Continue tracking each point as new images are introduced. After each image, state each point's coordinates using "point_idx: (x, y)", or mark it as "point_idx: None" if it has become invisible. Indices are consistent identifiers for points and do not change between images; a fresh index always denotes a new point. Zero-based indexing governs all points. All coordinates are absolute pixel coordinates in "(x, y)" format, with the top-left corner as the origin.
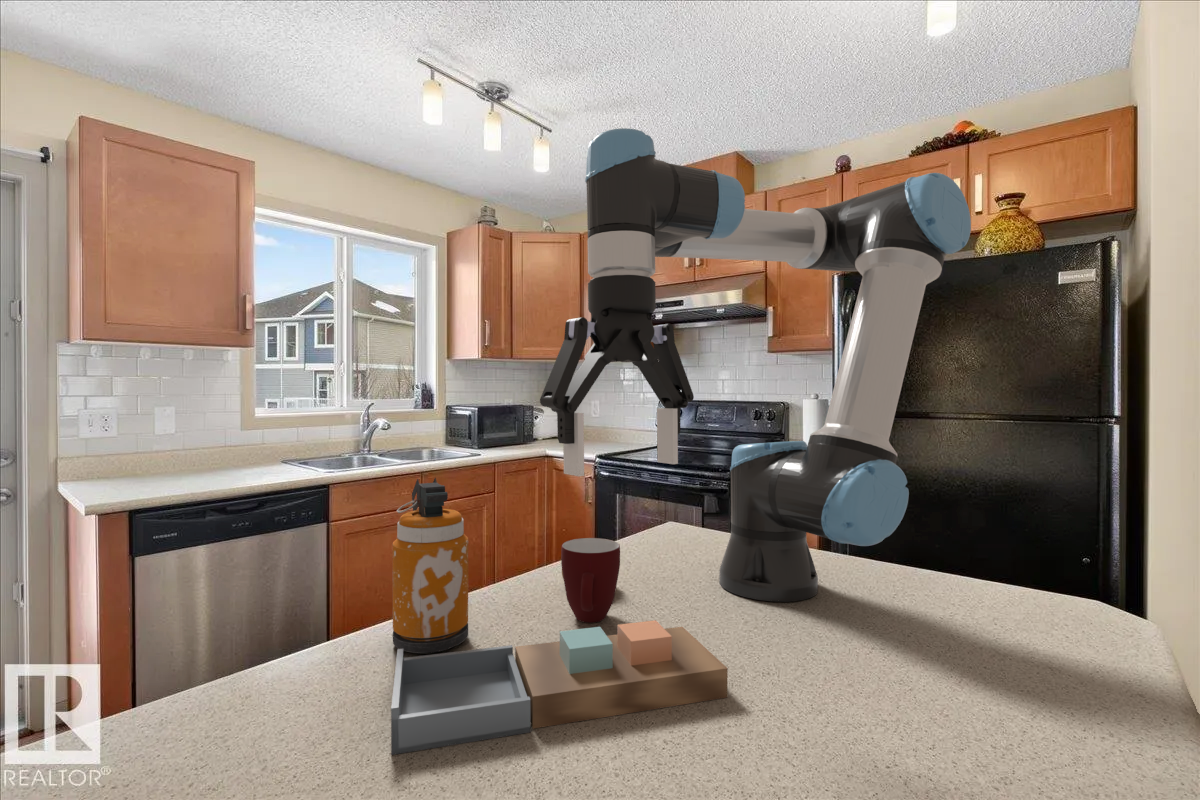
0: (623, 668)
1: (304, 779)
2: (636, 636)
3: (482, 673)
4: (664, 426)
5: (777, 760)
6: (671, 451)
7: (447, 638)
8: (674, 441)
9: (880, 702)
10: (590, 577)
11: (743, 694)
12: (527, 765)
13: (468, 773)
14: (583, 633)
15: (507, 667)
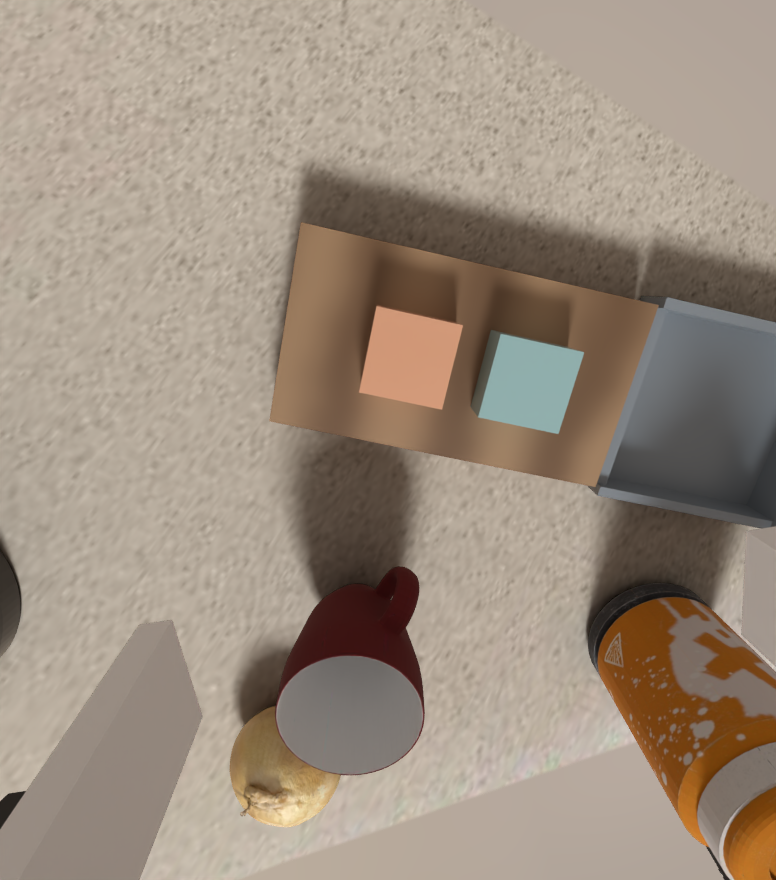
0: (474, 318)
1: None
2: (440, 340)
3: (632, 482)
4: (92, 876)
5: (358, 27)
6: (149, 676)
7: (651, 598)
8: (104, 714)
9: (58, 67)
10: (395, 610)
11: (274, 223)
12: (684, 220)
13: (758, 244)
14: (524, 402)
15: None
